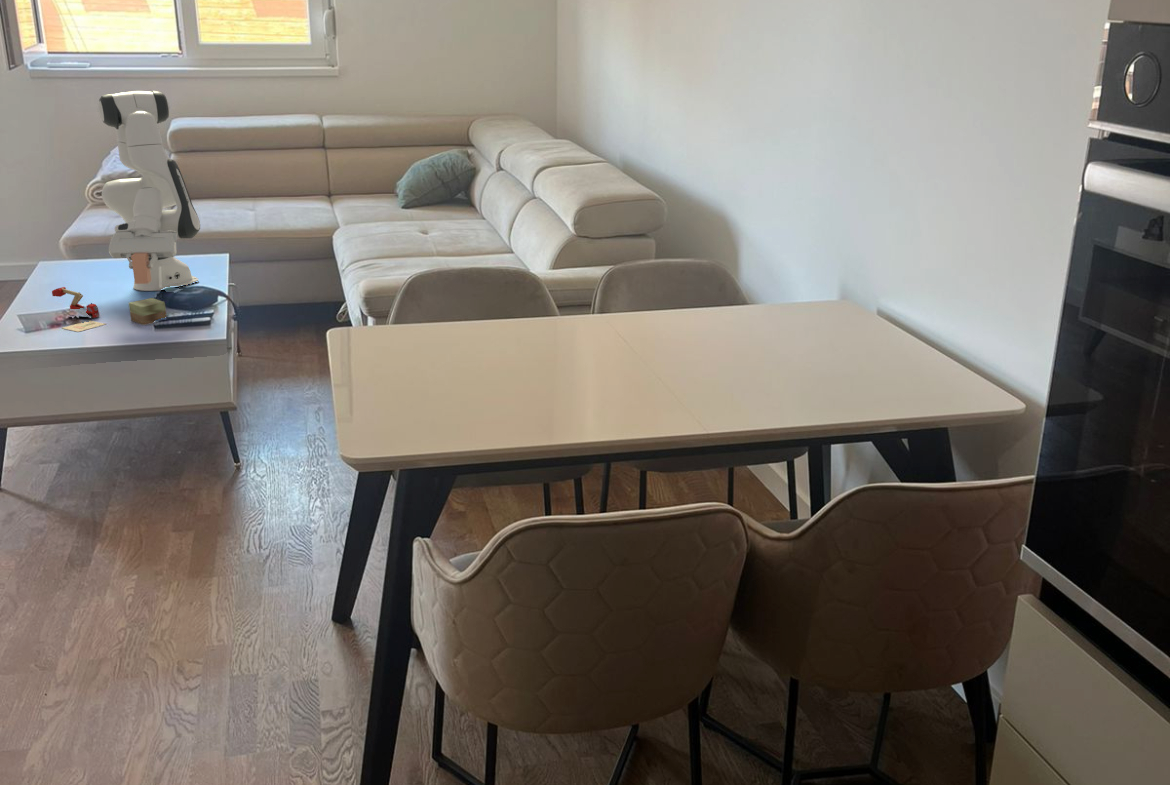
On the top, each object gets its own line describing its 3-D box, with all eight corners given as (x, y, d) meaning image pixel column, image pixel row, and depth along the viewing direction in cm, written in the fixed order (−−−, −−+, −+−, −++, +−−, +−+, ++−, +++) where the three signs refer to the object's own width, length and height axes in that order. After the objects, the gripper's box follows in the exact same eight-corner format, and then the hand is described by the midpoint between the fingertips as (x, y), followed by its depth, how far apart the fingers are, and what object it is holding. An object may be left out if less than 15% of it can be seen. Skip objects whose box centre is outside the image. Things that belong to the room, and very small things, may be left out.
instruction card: (89, 320, 344) (89, 320, 344) (106, 324, 340) (105, 323, 340) (61, 328, 336) (61, 327, 336) (78, 332, 332) (78, 331, 332)
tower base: (154, 315, 350) (151, 297, 348) (167, 319, 345) (164, 302, 343) (131, 320, 344) (128, 302, 342) (143, 325, 340) (141, 306, 338)
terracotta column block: (138, 280, 342) (134, 253, 339) (151, 280, 343) (147, 252, 340) (135, 283, 338) (131, 255, 335) (148, 283, 339) (144, 255, 336)
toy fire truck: (96, 319, 346) (91, 290, 343) (55, 318, 347) (50, 289, 344) (101, 316, 349) (96, 287, 346) (61, 315, 351) (56, 286, 347)
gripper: (181, 235, 348) (177, 272, 342) (116, 237, 346) (111, 273, 340) (175, 225, 342) (171, 261, 336) (109, 226, 340) (104, 263, 335)
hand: (140, 267), depth 338 cm, fingers closed on terracotta column block, 4 cm apart
